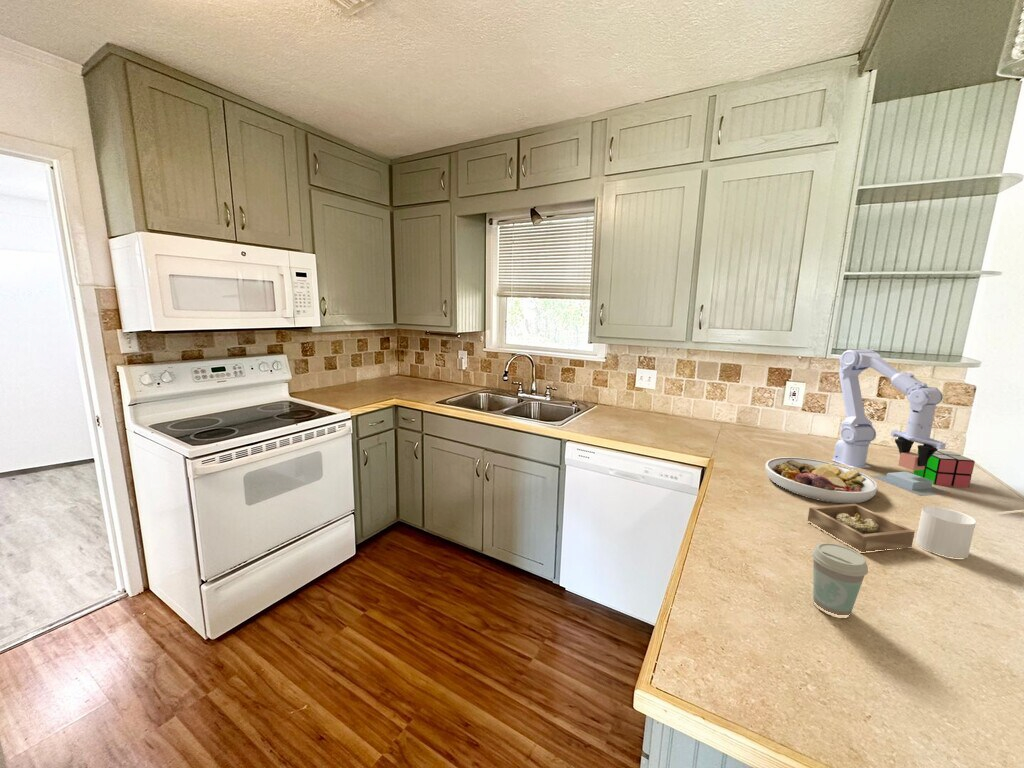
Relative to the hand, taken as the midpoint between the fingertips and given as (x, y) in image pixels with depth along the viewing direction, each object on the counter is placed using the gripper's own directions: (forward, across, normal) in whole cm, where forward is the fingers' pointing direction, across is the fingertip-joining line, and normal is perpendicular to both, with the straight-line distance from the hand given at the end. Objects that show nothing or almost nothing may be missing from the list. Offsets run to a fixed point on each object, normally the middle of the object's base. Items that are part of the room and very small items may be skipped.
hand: (912, 463), depth 138 cm
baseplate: (+8, 0, 0) cm, 8 cm away
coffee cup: (+8, +45, -80) cm, 92 cm away
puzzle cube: (+8, -1, +15) cm, 17 cm away
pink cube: (+2, 0, 0) cm, 2 cm away
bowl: (+9, -5, -31) cm, 33 cm away
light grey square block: (+8, 0, 0) cm, 8 cm away
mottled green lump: (+9, +21, -46) cm, 52 cm away
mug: (+8, +31, -33) cm, 46 cm away
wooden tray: (+8, +23, -48) cm, 54 cm away
